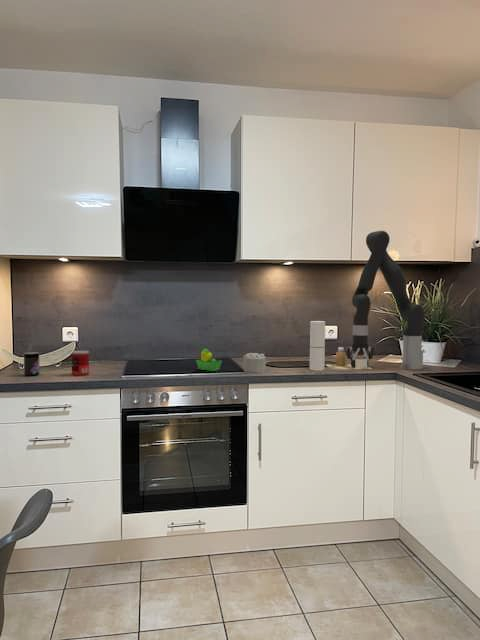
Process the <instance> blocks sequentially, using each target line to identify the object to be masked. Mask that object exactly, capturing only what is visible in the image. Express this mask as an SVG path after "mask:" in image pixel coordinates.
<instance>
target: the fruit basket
mask: <svg viewBox="0 0 480 640" xmlns="http://www.w3.org/2000/svg"><path fill="white" fill-rule="evenodd" d="M200 353H201V355H200V356H201V358H200V359H196V360H195V362H196V364H197V368H198V370H199V369H202V370H208V371H216V370H219V371H220V369H221V365H222V362H223V360H220V359H219V360H218V359H215V358H212V357H213V353H212V352H210V351H209V350H208V349H207V348H204V349H203V348H202V351H201V352H200ZM208 371H207V372H208ZM216 372H217V371H216Z"/></svg>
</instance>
